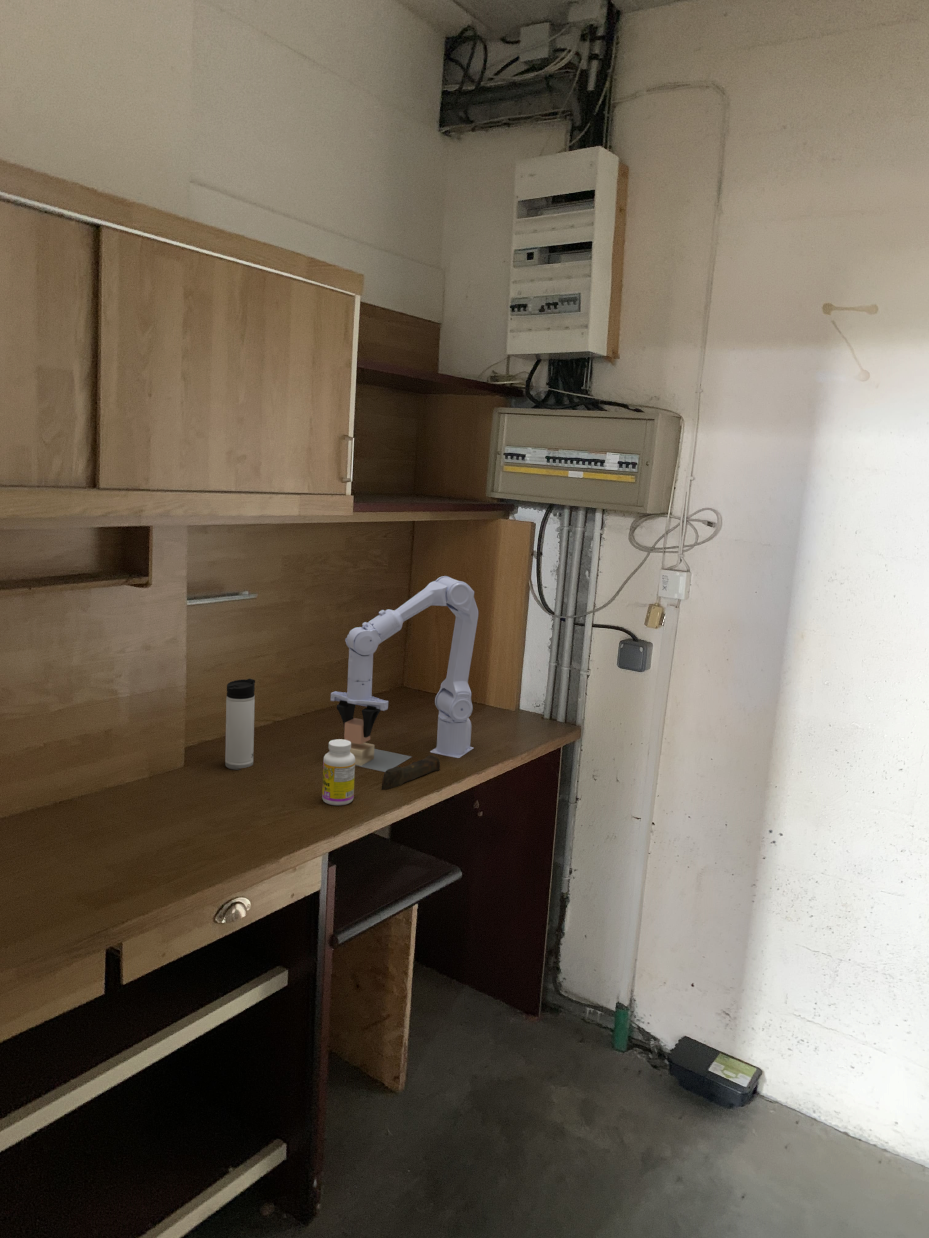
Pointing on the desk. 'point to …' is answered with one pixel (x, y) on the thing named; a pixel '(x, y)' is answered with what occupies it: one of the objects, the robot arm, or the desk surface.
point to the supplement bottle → (338, 773)
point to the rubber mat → (385, 760)
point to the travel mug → (240, 724)
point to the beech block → (362, 753)
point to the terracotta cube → (355, 731)
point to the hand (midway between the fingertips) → (357, 734)
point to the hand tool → (409, 772)
